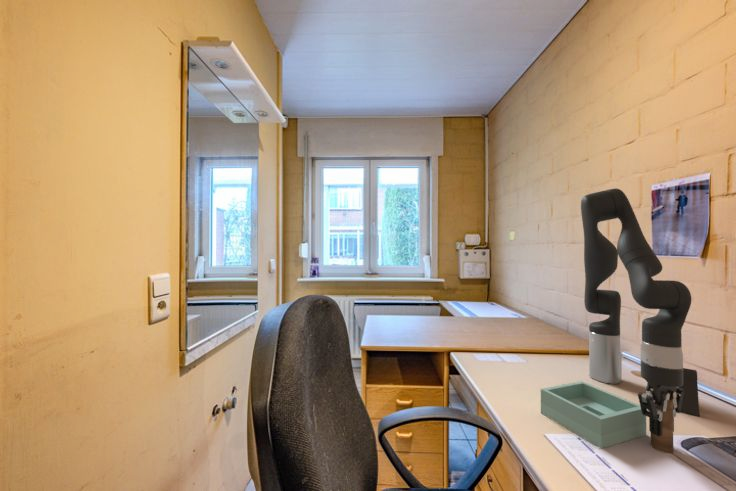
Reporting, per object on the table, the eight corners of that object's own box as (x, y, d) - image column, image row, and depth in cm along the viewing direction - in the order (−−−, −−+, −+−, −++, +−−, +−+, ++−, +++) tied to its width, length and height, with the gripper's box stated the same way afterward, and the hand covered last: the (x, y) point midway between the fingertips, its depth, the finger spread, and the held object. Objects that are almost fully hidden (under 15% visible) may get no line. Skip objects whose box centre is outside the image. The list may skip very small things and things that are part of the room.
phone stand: (699, 417, 88) (699, 375, 88) (670, 409, 92) (670, 370, 92) (694, 405, 95) (694, 366, 95) (667, 398, 99) (667, 361, 99)
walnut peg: (656, 441, 77) (656, 393, 77) (677, 450, 73) (677, 400, 73) (646, 444, 76) (646, 395, 76) (666, 454, 72) (666, 403, 72)
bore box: (581, 403, 96) (581, 381, 96) (646, 434, 79) (646, 407, 80) (540, 412, 90) (540, 388, 90) (601, 448, 74) (601, 419, 74)
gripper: (660, 353, 81) (660, 419, 80) (624, 359, 76) (624, 429, 76) (698, 363, 73) (699, 435, 73) (662, 371, 69) (662, 447, 69)
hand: (661, 432), depth 74 cm, fingers closed on walnut peg, 4 cm apart
